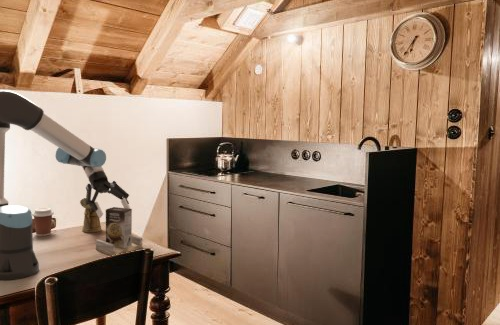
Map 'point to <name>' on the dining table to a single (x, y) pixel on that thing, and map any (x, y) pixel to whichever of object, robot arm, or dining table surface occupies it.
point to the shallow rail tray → (112, 250)
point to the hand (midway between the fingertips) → (115, 213)
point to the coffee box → (119, 227)
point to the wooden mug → (90, 219)
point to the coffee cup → (43, 221)
